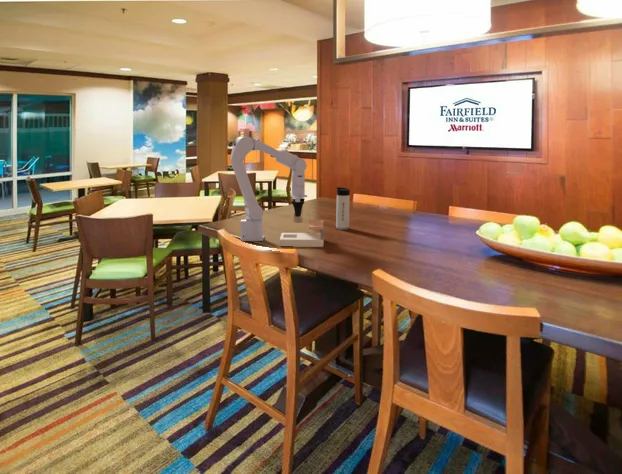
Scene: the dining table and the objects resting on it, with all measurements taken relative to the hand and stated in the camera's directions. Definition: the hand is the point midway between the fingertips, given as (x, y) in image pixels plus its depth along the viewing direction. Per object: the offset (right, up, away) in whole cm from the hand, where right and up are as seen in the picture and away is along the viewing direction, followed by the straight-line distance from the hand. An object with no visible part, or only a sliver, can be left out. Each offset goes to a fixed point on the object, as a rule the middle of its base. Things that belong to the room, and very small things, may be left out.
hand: (298, 215), depth 192 cm
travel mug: (+21, -6, +17) cm, 28 cm away
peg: (0, -3, +1) cm, 3 cm away
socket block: (+2, -12, -10) cm, 16 cm away
